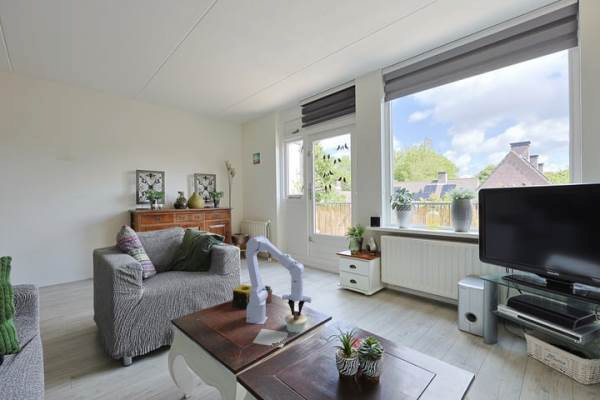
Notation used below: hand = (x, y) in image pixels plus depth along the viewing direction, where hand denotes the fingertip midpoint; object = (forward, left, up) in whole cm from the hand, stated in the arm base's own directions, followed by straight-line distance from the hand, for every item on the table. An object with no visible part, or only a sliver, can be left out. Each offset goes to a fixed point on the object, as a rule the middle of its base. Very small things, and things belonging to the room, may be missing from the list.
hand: (296, 314), depth 132 cm
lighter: (-25, +25, -7) cm, 36 cm away
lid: (0, 0, -2) cm, 2 cm away
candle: (-36, +18, -7) cm, 41 cm away
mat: (-9, -11, -7) cm, 16 cm away
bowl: (0, 0, -7) cm, 7 cm away
